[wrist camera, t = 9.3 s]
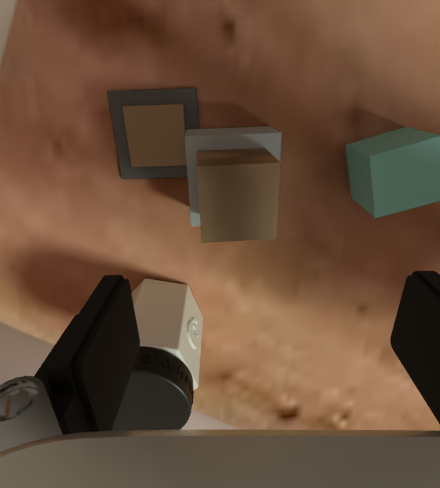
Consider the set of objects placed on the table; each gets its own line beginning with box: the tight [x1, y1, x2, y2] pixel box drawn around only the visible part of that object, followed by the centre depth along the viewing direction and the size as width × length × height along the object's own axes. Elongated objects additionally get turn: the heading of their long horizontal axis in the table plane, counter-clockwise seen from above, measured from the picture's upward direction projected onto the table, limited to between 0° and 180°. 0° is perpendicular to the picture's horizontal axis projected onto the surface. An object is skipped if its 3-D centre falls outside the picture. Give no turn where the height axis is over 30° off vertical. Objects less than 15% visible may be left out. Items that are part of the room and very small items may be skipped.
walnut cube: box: [197, 148, 281, 243], centre depth 22 cm, size 5×5×5 cm
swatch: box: [107, 88, 199, 179], centre depth 26 cm, size 7×7×1 cm
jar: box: [112, 278, 203, 431], centre depth 30 cm, size 9×8×12 cm
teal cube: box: [345, 127, 440, 218], centre depth 26 cm, size 5×5×5 cm
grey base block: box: [185, 126, 282, 227], centre depth 26 cm, size 7×7×4 cm
